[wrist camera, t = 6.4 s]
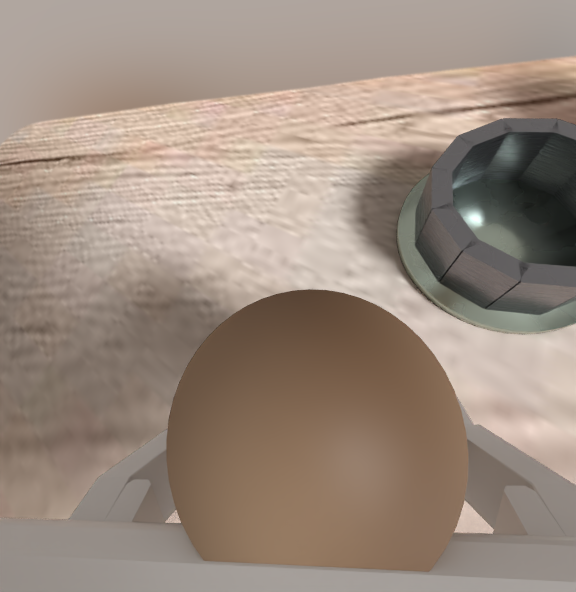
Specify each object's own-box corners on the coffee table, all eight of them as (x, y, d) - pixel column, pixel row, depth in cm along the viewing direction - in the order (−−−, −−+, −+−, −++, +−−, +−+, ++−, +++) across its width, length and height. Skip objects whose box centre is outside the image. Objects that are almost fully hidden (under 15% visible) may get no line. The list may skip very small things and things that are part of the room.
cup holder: (464, 367, 16) (504, 351, 13) (364, 201, 21) (371, 153, 17) (670, 284, 17) (769, 244, 13) (525, 139, 21) (566, 78, 18)
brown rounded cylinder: (296, 495, 15) (203, 683, 4) (264, 395, 17) (145, 344, 6) (390, 457, 15) (542, 542, 4) (348, 362, 17) (377, 253, 6)
